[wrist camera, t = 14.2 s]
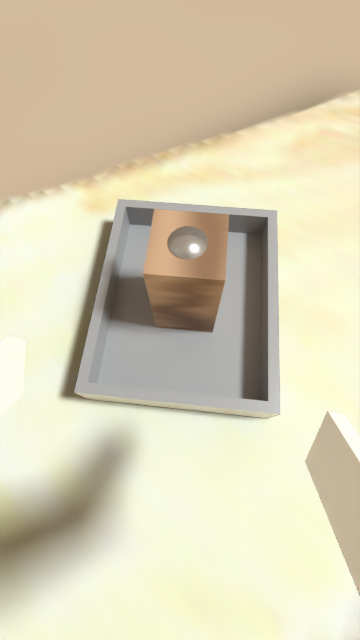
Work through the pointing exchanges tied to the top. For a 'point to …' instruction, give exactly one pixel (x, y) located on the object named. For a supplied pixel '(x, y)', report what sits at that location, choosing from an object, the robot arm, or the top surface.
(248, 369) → the tray
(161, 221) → the bored block
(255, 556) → the top surface
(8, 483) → the top surface
